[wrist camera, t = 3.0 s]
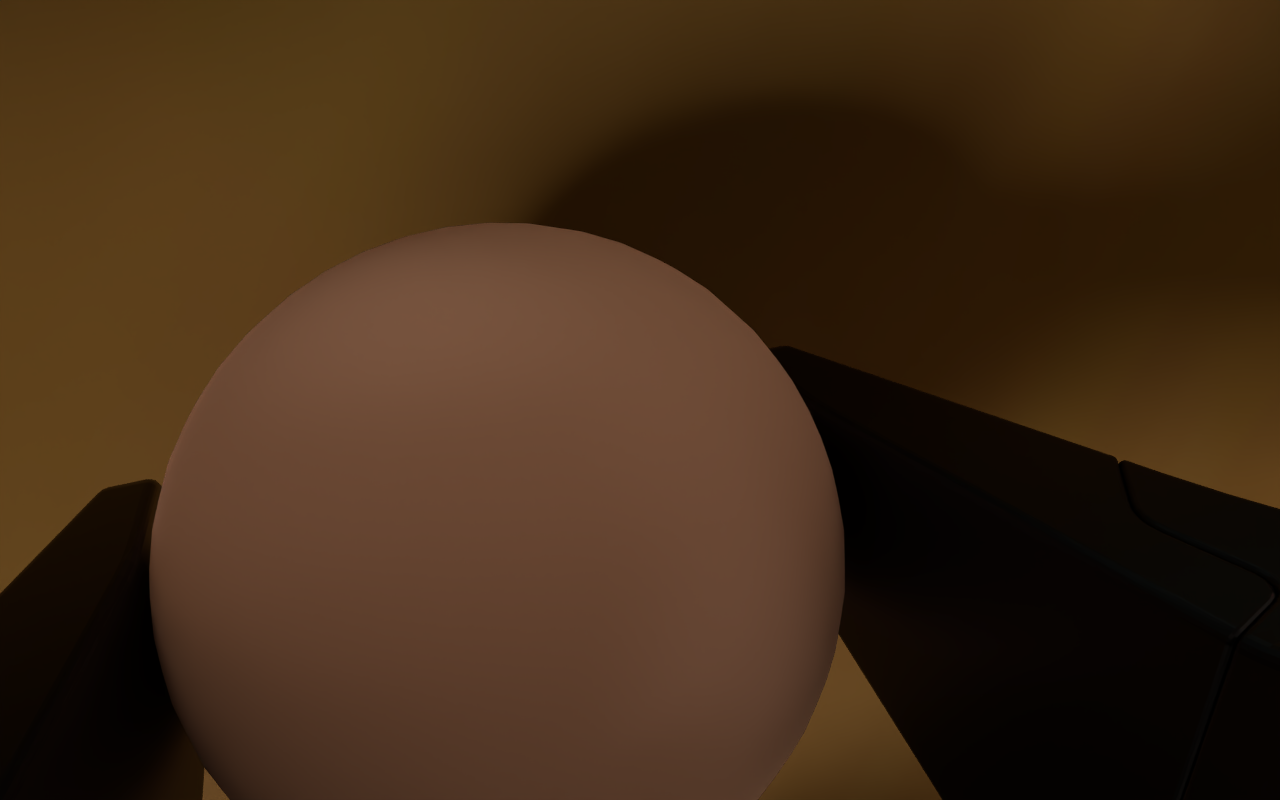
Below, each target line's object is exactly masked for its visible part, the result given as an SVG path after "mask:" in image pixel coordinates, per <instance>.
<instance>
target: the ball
mask: <svg viewBox="0 0 1280 800" xmlns="http://www.w3.org/2000/svg"><path fill="white" fill-rule="evenodd" d="M149 586H150V607H151V616H152V626H153V636H154V641H155V645H156V649H157V653H158V657H159V661H160V665H161V669H162V673H163V676H164V679H165V683H166V686H167V689H168V693H169V696H170V699H171V703H172V705H173V707H174V709H175V711H176V713H177V716H178V718H179V720H180V722H181V724H182V726H183V728H184V730H185V732H186V734H187V736H188V738H189V740H190V742H191V743H192V745H193V747H194V749H195V751H196V753H197V755H198V757H199V759H200V761H201V763H202V765H203V766H204V767H205V769H206V770H207V771H208V773H209V774H210V775H211V776H212V778H213V779H214V780H215V781H216V783H217V784H218V785H219V787H220V788H221V789H222V790H223V792H224V793H225V794H226V795H227V797H228V798H229V799H230V800H758V798H759V797H760V796H761V795H762V794H763V792H764V791H765V790H766V788H767V787H768V786H769V784H770V783H771V782H772V780H773V779H774V778H775V776H776V775H777V773H778V772H779V771H780V769H781V768H782V766H783V765H784V763H785V762H786V761H787V759H788V758H789V756H790V755H791V753H792V752H793V750H794V748H795V747H796V745H797V743H798V741H799V740H800V738H801V736H802V735H803V733H804V731H805V729H806V727H807V725H808V723H809V720H810V718H811V716H812V714H813V712H814V709H815V707H816V705H817V702H818V700H819V697H820V695H821V692H822V690H823V687H824V685H825V682H826V680H827V677H828V673H829V670H830V667H831V663H832V660H833V657H834V653H835V649H836V644H837V638H838V632H839V626H840V621H841V614H842V607H843V601H844V594H845V553H844V527H843V521H842V515H841V510H840V504H839V498H838V494H837V489H836V485H835V480H834V476H833V471H832V467H831V465H830V462H829V459H828V456H827V453H826V450H825V448H824V445H823V442H822V439H821V437H820V434H819V432H818V430H817V427H816V425H815V423H814V421H813V418H812V416H811V414H810V412H809V410H808V408H807V406H806V404H805V402H804V401H803V399H802V397H801V395H800V394H799V392H798V390H797V388H796V386H795V385H794V383H793V381H792V380H791V378H790V377H789V375H788V374H787V373H786V371H785V370H784V368H783V367H782V366H781V364H780V363H779V361H778V360H777V359H776V357H775V356H774V355H773V354H772V352H771V351H770V350H769V349H768V347H767V346H766V345H765V344H764V342H763V341H762V340H761V339H760V338H759V336H758V335H757V334H756V333H755V331H754V330H753V329H752V328H750V327H749V326H748V325H747V324H746V323H745V322H744V321H743V320H742V319H740V318H739V317H738V316H737V315H736V314H735V313H734V312H733V311H732V310H730V309H729V308H728V307H727V306H726V305H725V304H724V303H723V302H721V301H720V300H719V299H718V298H717V297H716V296H715V295H714V294H712V293H711V292H710V291H709V290H708V289H706V288H705V287H703V286H702V285H700V284H699V283H697V282H696V281H694V280H692V279H691V278H689V277H688V276H686V275H685V274H683V273H681V272H680V271H678V270H677V269H675V268H673V267H671V266H669V265H668V264H666V263H664V262H662V261H660V260H658V259H656V258H654V257H652V256H649V255H647V254H645V253H643V252H640V251H638V250H636V249H634V248H632V247H629V246H627V245H625V244H623V243H620V242H616V241H613V240H610V239H606V238H603V237H599V236H596V235H592V234H589V233H585V232H581V231H575V230H569V229H562V228H555V227H549V226H542V225H535V224H529V223H480V224H471V225H461V226H452V227H444V228H440V229H436V230H431V231H427V232H423V233H418V234H414V235H410V236H405V237H402V238H400V239H397V240H394V241H391V242H389V243H386V244H383V245H380V246H378V247H375V248H372V249H369V250H367V251H364V252H362V253H360V254H358V255H356V256H354V257H352V258H350V259H348V260H346V261H344V262H342V263H340V264H338V265H336V266H334V267H332V268H330V269H328V270H327V271H325V272H323V273H322V274H320V275H319V276H317V277H316V278H314V279H313V280H312V281H310V282H309V283H307V284H306V285H304V286H303V287H301V288H300V289H298V290H297V291H295V292H294V293H292V294H291V295H290V296H288V297H287V298H286V299H285V300H284V301H283V302H282V303H281V304H279V305H278V306H277V307H276V308H275V309H274V310H273V311H272V312H270V313H269V314H268V315H267V316H266V317H265V318H264V319H263V320H261V321H260V322H259V323H258V324H257V325H256V326H255V327H254V328H253V329H252V330H251V331H250V332H249V333H247V335H246V336H245V337H244V338H243V339H242V340H241V342H240V343H239V344H238V345H237V346H236V347H235V349H234V350H233V351H232V352H231V353H230V354H229V356H228V357H227V358H226V359H225V360H224V361H223V363H222V364H221V365H220V366H219V367H218V369H217V371H216V372H215V374H214V375H213V377H212V378H211V380H210V382H209V383H208V385H207V386H206V388H205V389H204V391H203V393H202V394H201V396H200V397H199V399H198V400H197V402H196V404H195V406H194V408H193V410H192V412H191V413H190V415H189V417H188V419H187V421H186V423H185V425H184V428H183V430H182V432H181V434H180V437H179V439H178V441H177V444H176V446H175V448H174V450H173V453H172V455H171V457H170V459H169V462H168V466H167V470H166V474H165V477H164V481H163V485H162V489H161V493H160V497H159V501H158V505H157V510H156V514H155V519H154V523H153V528H152V539H151V552H150V564H149Z"/></svg>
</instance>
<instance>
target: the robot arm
mask: <svg viewBox="0 0 1280 800" xmlns="http://www.w3.org/2000/svg"><path fill="white" fill-rule="evenodd" d="M769 350H770V351H771V352H772V354H773V355H774V356H775V357H776V359H777V360H778V361H779V363H780V364H781V366H782V367H783V368H784V370H785V371H786V373H787V374H788V375H789V377H790V378H791V380H792V381H793V383H794V385H795V386H796V388H797V390H798V392H799V394H800V395H801V397H802V399H803V401H804V402H805V404H806V406H807V408H808V410H809V412H810V414H811V416H812V418H813V421H814V423H815V425H816V427H817V430H818V432H819V434H820V437H821V439H822V442H823V445H824V448H825V450H826V453H827V456H828V459H829V462H830V465H831V467H832V471H833V476H834V480H835V485H836V489H837V494H838V498H839V504H840V510H841V515H842V521H843V527H844V553H845V594H844V601H843V607H842V614H841V621H840V626H839V632H838V634H839V636H840V637H841V639H842V640H843V642H844V644H845V645H846V647H847V648H848V650H849V652H850V653H851V655H852V656H853V658H854V660H855V661H856V663H857V664H858V666H859V667H860V669H861V671H862V672H863V674H864V675H865V677H866V679H867V680H868V682H869V683H870V685H871V687H872V688H873V690H874V691H875V693H876V695H877V696H878V698H879V699H880V701H881V703H882V704H883V706H884V707H885V709H886V711H887V712H888V714H889V715H890V717H891V718H892V720H893V722H894V723H895V725H896V726H897V728H898V730H899V731H900V733H901V734H902V736H903V738H904V739H905V741H906V742H907V744H908V746H909V747H910V749H911V750H912V752H913V754H914V755H915V757H916V758H917V760H918V762H919V763H920V765H921V766H922V768H923V770H924V771H925V773H926V774H927V776H928V777H929V779H930V781H931V782H932V784H933V785H934V787H935V789H936V790H937V792H938V793H939V795H940V797H941V798H942V800H1280V509H1278V508H1274V507H1271V506H1267V505H1264V504H1261V503H1257V502H1254V501H1250V500H1247V499H1243V498H1240V497H1236V496H1233V495H1229V494H1226V493H1223V492H1220V491H1217V490H1214V489H1211V488H1207V487H1204V486H1201V485H1198V484H1195V483H1192V482H1189V481H1186V480H1183V479H1179V478H1176V477H1173V476H1170V475H1167V474H1164V473H1161V472H1158V471H1155V470H1152V469H1149V468H1146V467H1144V466H1141V465H1138V464H1135V463H1132V462H1129V461H1126V460H1124V461H1121V462H1120V463H1119V464H1118V461H1117V459H1116V458H1115V457H1114V456H1111V455H1108V454H1105V453H1102V452H1099V451H1096V450H1093V449H1090V448H1087V447H1084V446H1081V445H1078V444H1075V443H1072V442H1069V441H1067V440H1064V439H1061V438H1058V437H1055V436H1052V435H1049V434H1046V433H1043V432H1040V431H1037V430H1034V429H1031V428H1028V427H1025V426H1022V425H1019V424H1016V423H1013V422H1011V421H1008V420H1005V419H1002V418H999V417H996V416H993V415H990V414H987V413H984V412H981V411H978V410H975V409H972V408H969V407H966V406H963V405H960V404H957V403H954V402H952V401H949V400H946V399H943V398H940V397H937V396H934V395H931V394H928V393H925V392H922V391H919V390H916V389H913V388H910V387H907V386H904V385H902V384H899V383H896V382H893V381H890V380H887V379H884V378H881V377H878V376H875V375H872V374H869V373H866V372H863V371H860V370H857V369H854V368H852V367H849V366H846V365H843V364H840V363H837V362H834V361H831V360H828V359H825V358H822V357H819V356H816V355H813V354H810V353H807V352H804V351H802V350H799V349H796V348H793V347H789V346H779V347H775V348H770V349H769ZM161 489H162V486H161V485H160V484H159V483H158V482H157V481H155V480H153V479H146V480H141V481H137V482H132V483H127V484H122V485H117V486H113V487H108V488H106V489H103V490H102V491H101V492H99V493H98V494H97V495H96V496H95V497H94V498H93V499H92V500H91V501H90V502H89V503H88V504H87V505H86V506H85V507H84V508H83V509H82V510H81V511H80V512H79V513H78V514H77V515H76V516H75V517H74V518H73V520H72V521H71V522H70V523H69V524H68V525H67V526H66V527H65V528H64V529H63V530H62V531H61V532H60V533H59V534H58V535H57V536H56V537H55V538H54V539H53V540H52V541H51V542H50V543H49V544H48V545H47V546H46V547H45V548H44V549H43V550H42V551H41V552H40V553H39V554H38V555H37V556H36V557H35V558H34V559H33V560H32V562H31V563H30V564H29V565H28V566H27V567H26V568H25V569H24V570H23V571H22V572H21V573H20V574H19V575H18V576H17V577H16V578H15V579H14V580H13V581H12V582H11V583H10V584H9V585H8V586H7V587H6V588H5V589H4V590H3V591H2V592H1V593H0V800H202V797H203V781H204V766H203V765H202V763H201V761H200V759H199V757H198V755H197V753H196V751H195V749H194V747H193V745H192V743H191V742H190V740H189V738H188V736H187V734H186V732H185V730H184V728H183V726H182V724H181V722H180V720H179V718H178V716H177V713H176V711H175V709H174V707H173V705H172V703H171V699H170V696H169V693H168V689H167V686H166V683H165V679H164V676H163V673H162V669H161V665H160V661H159V657H158V653H157V649H156V645H155V641H154V636H153V626H152V616H151V607H150V586H149V564H150V552H151V539H152V528H153V523H154V519H155V514H156V510H157V505H158V501H159V497H160V493H161Z"/></svg>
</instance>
